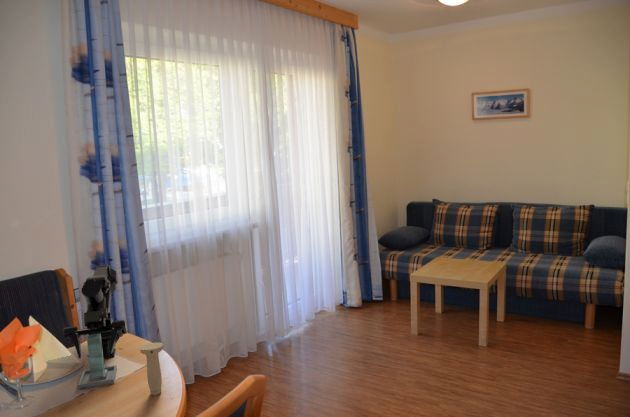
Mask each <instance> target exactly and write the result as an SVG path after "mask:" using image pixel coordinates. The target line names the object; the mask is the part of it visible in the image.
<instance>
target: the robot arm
mask: <svg viewBox="0 0 630 417" xmlns="http://www.w3.org/2000/svg"><path fill="white" fill-rule="evenodd" d="M94 269H95V270H94V272H93V275H92V276H88V277H87V278H85V281H84V282H83V285H82V288H81V291H80V292H81V294H82V297H83V299H84V302H85V303H86V312H83V323H84V327H86V328H82V329H81V328H80V329H79V328H78V326H77V325H73V326H67V327H64V328H63V329H62V337H63V338H64V340H65V342H67V343H69V344H72V345H74V348H75V352H76V353H77V356H78V358H79V359H81V357H82V350H81V349H82V348H81V347H82V346H81V340H80V336H87V335H93V334H100V333H101V340H102V349H103V358H104V359H108V358H109V359H110V358H115V354H116V351H117V348H115V347H116V344H117V343H118V342H119V340H120V338H121V337H123V336H124V335H126V334H128V327H127V325H128V324H127V323H126V320H125V319H118V320H117V319H116V320H113V316H112V315H111V314H112V313H111V305H112V304H111V302H112V301H111V299H112V293H114V292H115V290H116V291H117V286H118V284H119V276H118V272H117V271H116V270H115V269H113V268H111V265H110V264H103V265H101V264H100V265H97V266H95V268H94Z"/></svg>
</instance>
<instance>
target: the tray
mask: <svg viewBox="0 0 630 417" xmlns="http://www.w3.org/2000/svg"><path fill="white" fill-rule="evenodd" d="M117 366H118V365H117V364H116V365H110V366H104V367H105V370H108V374H107V378H106V380H100V381H94V382H89V377H90V373H91V369H84V370H83V371H82V373H81V376H80V379H79V382H78V384H77V385H78V390H79V389H80V390H86V389H91V388H97V387H103V386H109V385H114V384H115V381H116V377H117V372H118V367H117Z"/></svg>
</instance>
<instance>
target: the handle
mask: <svg viewBox="0 0 630 417" xmlns="http://www.w3.org/2000/svg"><path fill="white" fill-rule="evenodd" d="M163 349H164V346H163V343H162V342H150V343H145V344H142V345H141V346H140V347H139V351H140V353H141V354H142V355H144V356H145V357H146V374H147V375H146V376H147V383H148V388H149V392H150V393H149V394H150V395H151V396H158V395H160V394H162V386H163V385H162V383H163V382H162V380H163V377H162V372H161V366H160V358H159V353H160V352H162V351H163Z"/></svg>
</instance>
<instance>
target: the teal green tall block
mask: <svg viewBox="0 0 630 417" xmlns="http://www.w3.org/2000/svg"><path fill="white" fill-rule="evenodd" d="M86 341H87V350H88V360H89V368H90V369H91V373H90V377H89V382H94V381H100V380H106V378H107V374H108V370H105V367H106V366H105V361H104V359H105V358H103V349H102V340H101V333H100V334H93V335H89V334H88V336H87V338H86Z"/></svg>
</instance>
